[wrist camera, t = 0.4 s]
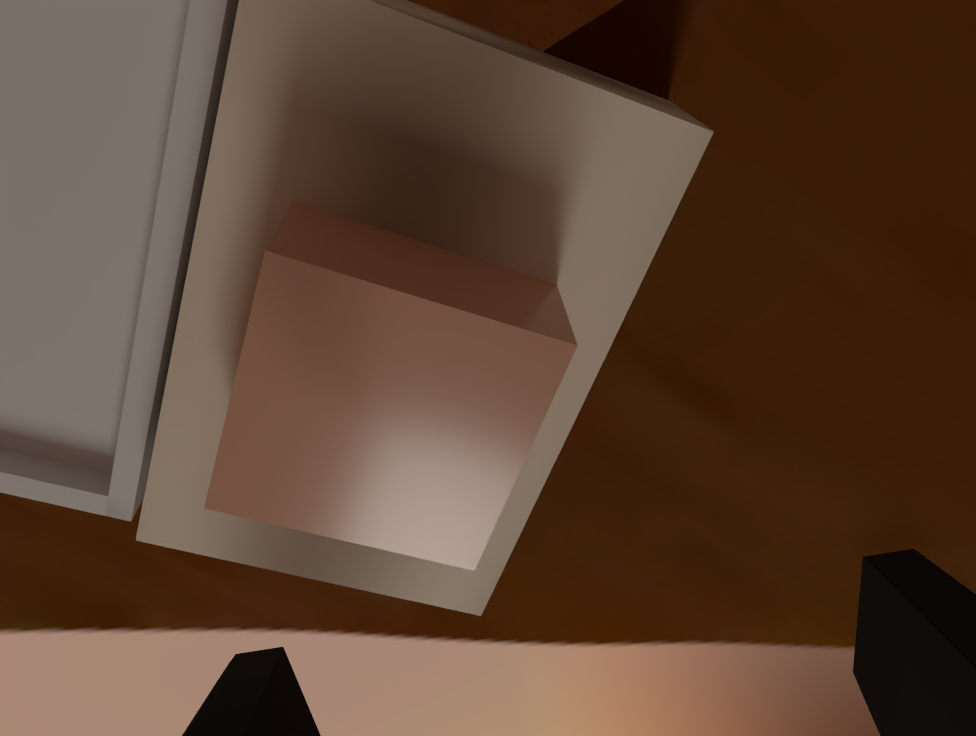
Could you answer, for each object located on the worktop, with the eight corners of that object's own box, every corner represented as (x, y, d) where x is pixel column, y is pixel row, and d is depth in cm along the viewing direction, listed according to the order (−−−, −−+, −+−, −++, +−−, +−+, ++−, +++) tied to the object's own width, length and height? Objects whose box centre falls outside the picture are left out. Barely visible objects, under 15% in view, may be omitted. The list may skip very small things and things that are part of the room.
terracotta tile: (556, 284, 15) (577, 345, 12) (469, 488, 17) (474, 570, 15) (293, 200, 14) (265, 250, 11) (236, 429, 16) (203, 508, 14)
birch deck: (669, 100, 16) (713, 132, 13) (475, 532, 21) (480, 616, 19) (282, -49, 14) (248, -47, 12) (176, 460, 20) (135, 540, 17)
